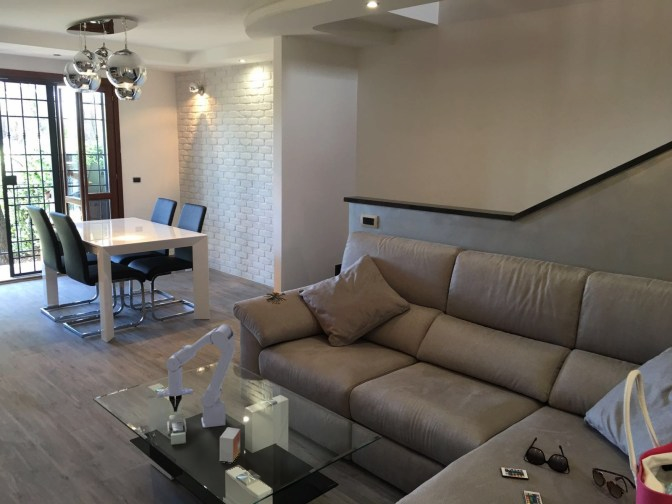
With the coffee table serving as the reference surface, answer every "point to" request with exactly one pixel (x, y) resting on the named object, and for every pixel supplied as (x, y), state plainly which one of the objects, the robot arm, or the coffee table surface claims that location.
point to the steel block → (177, 427)
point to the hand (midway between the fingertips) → (175, 410)
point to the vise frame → (178, 435)
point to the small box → (229, 444)
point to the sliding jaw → (176, 419)
